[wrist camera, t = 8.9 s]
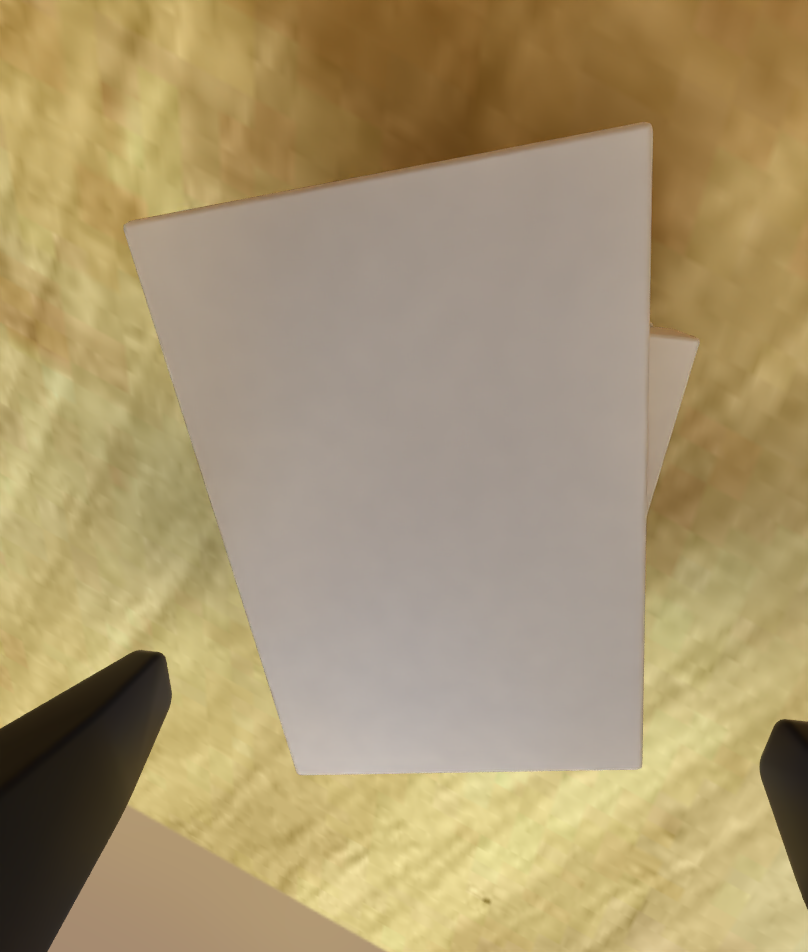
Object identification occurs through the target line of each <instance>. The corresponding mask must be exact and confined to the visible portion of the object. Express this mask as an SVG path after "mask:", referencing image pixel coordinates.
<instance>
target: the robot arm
mask: <svg viewBox="0 0 808 952" xmlns="http://www.w3.org/2000/svg"><path fill="white" fill-rule="evenodd" d="M171 698H172V691H171V685H170V679H169V674H168V668H167V662H166V658H165V656H164V655H163V654H162V653H160V652H153V651H143V650H138V651H134V652H132V653H130V654H128V655H126V656H125V657H123V658H121V659H120V660H118V661H116V662H114V663H113V664H111V665H109V666H108V667H106V668H104V669H102V670H101V671H99V672H97V673H96V674H94V675H92V676H90V677H89V678H87V679H85V680H83V681H82V682H80V683H78V684H77V685H75V686H73V687H71V688H70V689H68V690H66V691H65V692H63V693H61V694H59V695H58V696H56V697H54V698H52V699H51V700H49V701H47V702H46V703H44V704H42V705H40V706H39V707H37V708H35V709H34V710H32V711H30V712H28V713H27V714H25V715H23V716H21V717H20V718H18V719H16V720H15V721H13V722H11V723H9V724H8V725H6V726H4V727H3V728H1V729H0V952H47V951H48V949H49V948H50V946H51V944H52V942H53V940H54V938H55V937H56V935H57V933H58V931H59V929H60V928H61V926H62V924H63V922H64V920H65V918H66V917H67V915H68V913H69V911H70V909H71V908H72V906H73V904H74V902H75V900H76V898H77V897H78V895H79V893H80V891H81V889H82V887H83V886H84V884H85V882H86V880H87V878H88V877H89V875H90V873H91V871H92V869H93V867H94V866H95V864H96V862H97V860H98V858H99V857H100V854H101V853H102V851H103V849H104V847H105V845H106V844H107V842H108V840H109V838H110V836H111V835H112V833H113V831H114V829H115V827H116V825H117V824H118V822H119V820H120V818H121V816H122V814H123V812H124V810H125V808H126V806H127V804H128V802H129V800H130V797H131V795H132V793H133V791H134V788H135V786H136V784H137V782H138V779H139V777H140V775H141V772H142V770H143V768H144V765H145V763H146V761H147V758H148V756H149V754H150V752H151V749H152V747H153V745H154V742H155V740H156V738H157V735H158V733H159V731H160V728H161V726H162V724H163V722H164V719H165V717H166V715H167V712H168V710H169V707H170V704H171ZM760 775H761V779H762V782H763V785H764V788H765V791H766V794H767V796H768V799H769V802H770V805H771V808H772V811H773V814H774V817H775V820H776V823H777V826H778V829H779V831H780V834H781V837H782V840H783V843H784V846H785V849H786V852H787V855H788V858H789V861H790V864H791V866H792V869H793V872H794V875H795V878H796V881H797V884H798V886H799V889H800V892H801V894H802V897H803V900H804V902H805V904H806V907H807V909H808V722H806V721H797V720H787V719H783V720H780V721H778V722H777V723H776V724H775V725H774V728H773V730H772V732H771V735H770V737H769V739H768V742H767V744H766V747H765V749H764V751H763V754H762V756H761V759H760Z"/></svg>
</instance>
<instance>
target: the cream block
mask: <svg viewBox="0 0 808 952" xmlns="http://www.w3.org/2000/svg"><path fill="white" fill-rule="evenodd" d="M652 161H653V129H652V126H651V124H650V123H647V122H641V123H635V124H630V125H625V126H620V127H615V128H609V129H604V130H599V131H594V132H589V133H584V134H578V135H573V136H568V137H563V138H558V139H552V140H547V141H542V142H537V143H532V144H527V145H521V146H516V147H511V148H506V149H501V150H495V151H490V152H485V153H480V154H475V155H469V156H464V157H459V158H454V159H449V160H444V161H438V162H433V163H428V164H423V165H418V166H412V167H407V168H402V169H397V170H392V171H387V172H381V173H376V174H371V175H366V176H361V177H355V178H350V179H345V180H340V181H335V182H329V183H324V184H319V185H314V186H309V187H304V188H298V189H293V190H288V191H283V192H278V193H272V194H267V195H262V196H257V197H252V198H247V199H241V200H236V201H231V202H226V203H221V204H215V205H210V206H205V207H200V208H195V209H189V210H184V211H179V212H174V213H169V214H164V215H158V216H153V217H148V218H143V219H138V220H132V221H129V222H127V223H126V224H125V225H124V232H125V235H126V238H127V242H128V245H129V248H130V251H131V254H132V257H133V260H134V264H135V267H136V270H137V273H138V276H139V279H140V282H141V286H142V289H143V292H144V295H145V298H146V301H147V304H148V308H149V311H150V314H151V317H152V320H153V323H154V326H155V329H156V333H157V336H158V339H159V342H160V345H161V348H162V351H163V355H164V358H165V361H166V364H167V367H168V370H169V373H170V377H171V380H172V383H173V386H174V389H175V392H176V395H177V399H178V402H179V405H180V408H181V411H182V414H183V417H184V420H185V424H186V427H187V430H188V433H189V436H190V439H191V442H192V446H193V449H194V452H195V455H196V458H197V461H198V464H199V468H200V471H201V474H202V477H203V480H204V483H205V486H206V490H207V493H208V496H209V499H210V502H211V505H212V508H213V511H214V515H215V518H216V521H217V524H218V527H219V530H220V533H221V537H222V540H223V543H224V546H225V549H226V552H227V555H228V559H229V562H230V565H231V568H232V571H233V574H234V577H235V581H236V584H237V587H238V590H239V593H240V596H241V599H242V602H243V606H244V609H245V612H246V615H247V618H248V621H249V624H250V628H251V631H252V634H253V637H254V640H255V643H256V646H257V650H258V653H259V656H260V659H261V662H262V665H263V668H264V672H265V675H266V678H267V681H268V684H269V687H270V690H271V693H272V697H273V700H274V703H275V706H276V709H277V712H278V715H279V719H280V722H281V725H282V728H283V731H284V734H285V737H286V741H287V744H288V747H289V750H290V753H291V756H292V759H293V762H294V766H295V769H296V772H297V773H298V774H299V775H338V774H398V773H457V772H516V771H575V770H635V769H640V768H641V767H642V749H643V691H644V632H645V573H646V514H647V455H648V396H649V338H650V279H651V220H652Z"/></svg>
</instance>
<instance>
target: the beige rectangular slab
mask: <svg viewBox="0 0 808 952" xmlns="http://www.w3.org/2000/svg"><path fill="white" fill-rule="evenodd" d="M698 346H699V339H698V338H696V337H694V336H691V335H688V334H686V333H683V332H680V331H678V330H675V329H670V328H660V327H653V323H651V322H650V338H649V396H648V455H647V513H648V510H649V507H650V503H651V500H652V497H653V494H654V490H655V487H656V484H657V480H658V477H659V474H660V471H661V467H662V464H663V461H664V457H665V454H666V451H667V448H668V444H669V441H670V438H671V434H672V431H673V428H674V425H675V421H676V418H677V415H678V412H679V408H680V405H681V402H682V398H683V395H684V392H685V389H686V385H687V382H688V379H689V375H690V372H691V369H692V366H693V362H694V359H695V356H696V352H697V349H698ZM646 517H647V514H646Z"/></svg>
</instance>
